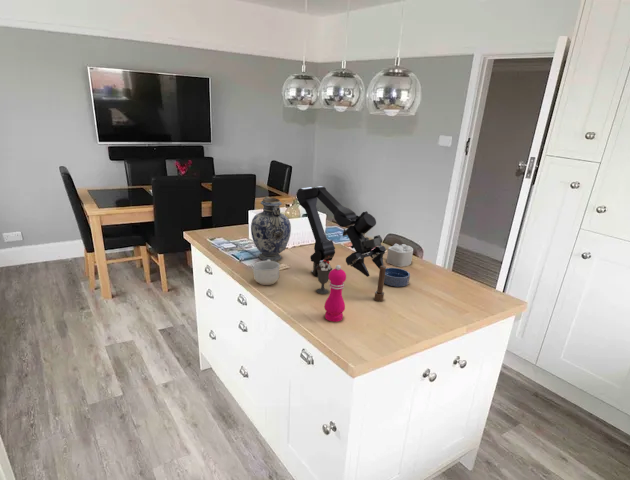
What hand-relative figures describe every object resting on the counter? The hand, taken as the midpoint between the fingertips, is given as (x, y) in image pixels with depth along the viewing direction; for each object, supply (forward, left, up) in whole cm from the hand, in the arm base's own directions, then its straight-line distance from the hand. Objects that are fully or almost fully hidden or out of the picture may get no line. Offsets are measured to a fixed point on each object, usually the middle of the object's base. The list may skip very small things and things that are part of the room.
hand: (376, 273), depth 163 cm
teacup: (-39, +22, -10) cm, 46 cm away
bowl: (+16, +13, -10) cm, 23 cm away
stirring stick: (+1, -3, -10) cm, 10 cm away
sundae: (-19, +8, -10) cm, 23 cm away
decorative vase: (-32, +51, -10) cm, 61 cm away
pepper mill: (-22, -15, -10) cm, 28 cm away
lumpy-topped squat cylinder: (+31, +37, -10) cm, 50 cm away
